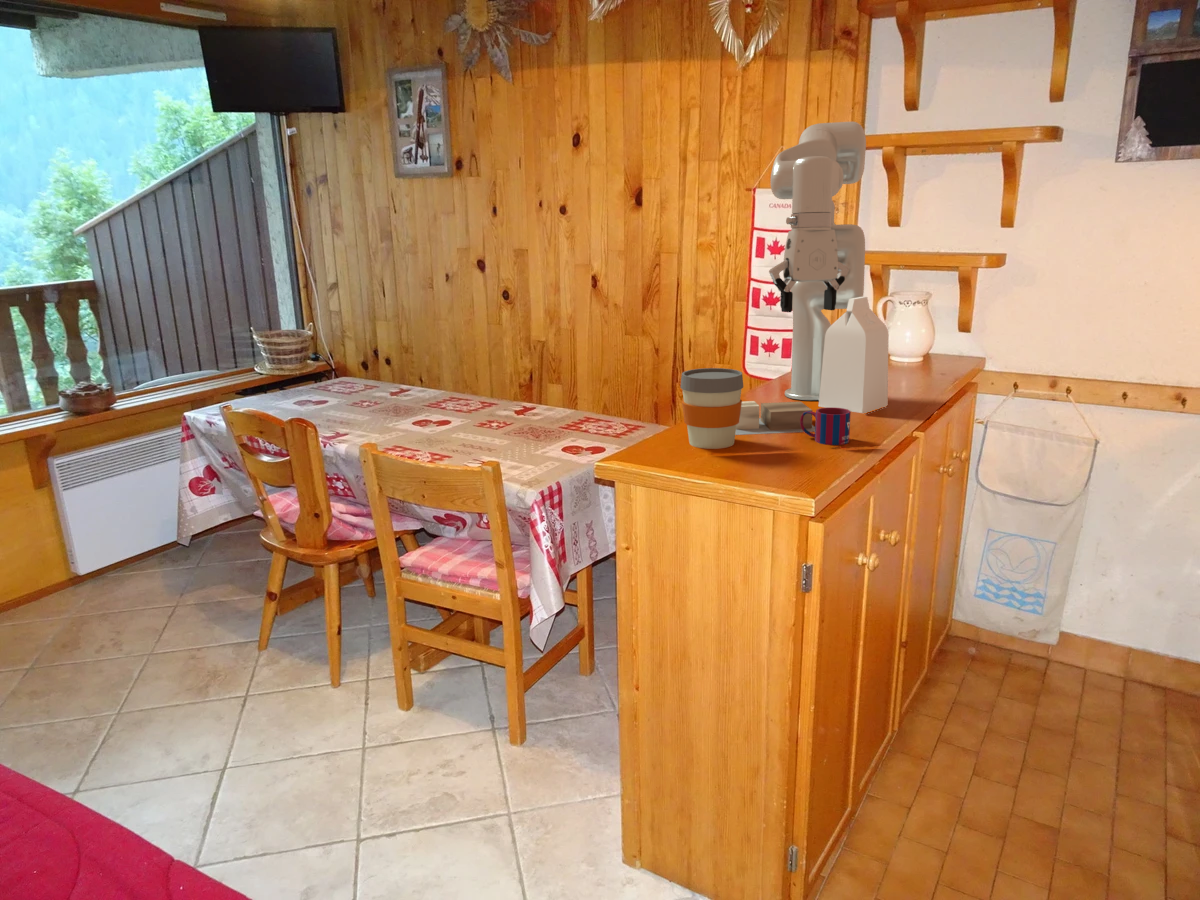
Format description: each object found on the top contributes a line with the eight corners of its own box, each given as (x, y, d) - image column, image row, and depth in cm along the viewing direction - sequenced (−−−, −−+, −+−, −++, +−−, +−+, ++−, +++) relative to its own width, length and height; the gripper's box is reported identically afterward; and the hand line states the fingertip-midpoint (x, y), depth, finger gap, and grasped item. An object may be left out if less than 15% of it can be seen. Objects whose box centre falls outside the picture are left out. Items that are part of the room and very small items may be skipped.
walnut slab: (760, 420, 190) (760, 403, 189) (800, 418, 190) (800, 401, 189) (770, 430, 181) (770, 412, 180) (811, 428, 182) (812, 410, 181)
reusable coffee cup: (729, 456, 165) (730, 380, 161) (670, 450, 171) (670, 376, 167) (751, 441, 176) (752, 369, 172) (695, 435, 182) (695, 366, 178)
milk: (844, 400, 210) (849, 294, 203) (887, 406, 202) (894, 296, 195) (818, 408, 202) (822, 299, 195) (862, 415, 194) (868, 301, 187)
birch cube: (731, 424, 188) (731, 402, 187) (753, 423, 188) (754, 401, 187) (736, 429, 183) (736, 406, 182) (759, 428, 183) (759, 405, 182)
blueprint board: (723, 422, 192) (723, 419, 192) (801, 418, 193) (801, 416, 193) (735, 437, 179) (735, 434, 179) (819, 433, 180) (819, 431, 179)
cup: (841, 449, 167) (842, 416, 166) (794, 443, 173) (795, 410, 171) (854, 442, 172) (855, 409, 171) (808, 435, 178) (809, 404, 177)
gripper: (781, 223, 161) (778, 314, 165) (860, 221, 165) (856, 310, 169) (762, 224, 168) (760, 311, 172) (839, 223, 172) (835, 308, 176)
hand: (808, 310), depth 170 cm, fingers open, 9 cm apart
